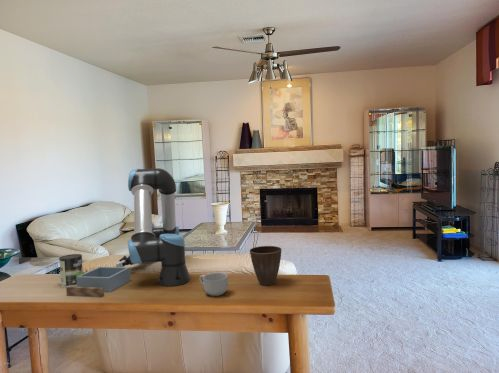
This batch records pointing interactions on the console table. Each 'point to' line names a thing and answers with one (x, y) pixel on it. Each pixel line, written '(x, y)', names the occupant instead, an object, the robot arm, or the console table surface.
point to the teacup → (215, 283)
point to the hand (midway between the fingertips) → (117, 266)
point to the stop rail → (85, 291)
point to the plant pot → (266, 263)
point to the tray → (104, 278)
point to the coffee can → (70, 269)
